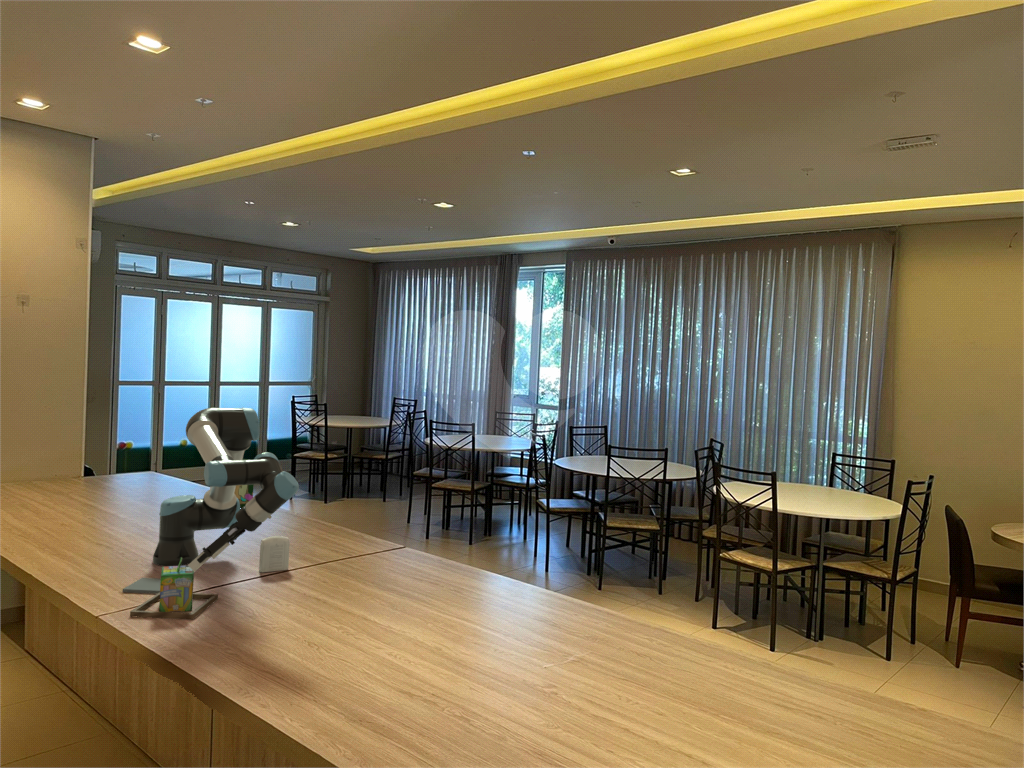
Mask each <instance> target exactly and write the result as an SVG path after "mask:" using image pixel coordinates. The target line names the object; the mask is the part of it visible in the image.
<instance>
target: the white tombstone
mask: <svg viewBox="0 0 1024 768" xmlns="http://www.w3.org/2000/svg"><path fill="white" fill-rule="evenodd" d="M259 549H260V550H259V564H258V571H259V573H270V572H278V571H287V570H288V569H289V562H290V561H289V559H290V538H289V537H287V536H282V535H273V536H268V537H266V538H262V539H261V541H260V545H259Z"/></svg>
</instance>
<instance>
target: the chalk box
mask: <svg viewBox="0 0 1024 768" xmlns="http://www.w3.org/2000/svg"><path fill="white" fill-rule="evenodd" d="M181 563H182V557H181V559H180V562H179V565H178V566H161V573H160V579H161V582H160V599H159V607H158V612H179V613H182V612H193V611H192V610H193V602H194V599H193V593H194V581H195V580H194V578H195V572H194V571H193V570H192V569H191V568H190V567H189V566H188V565H181Z"/></svg>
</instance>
